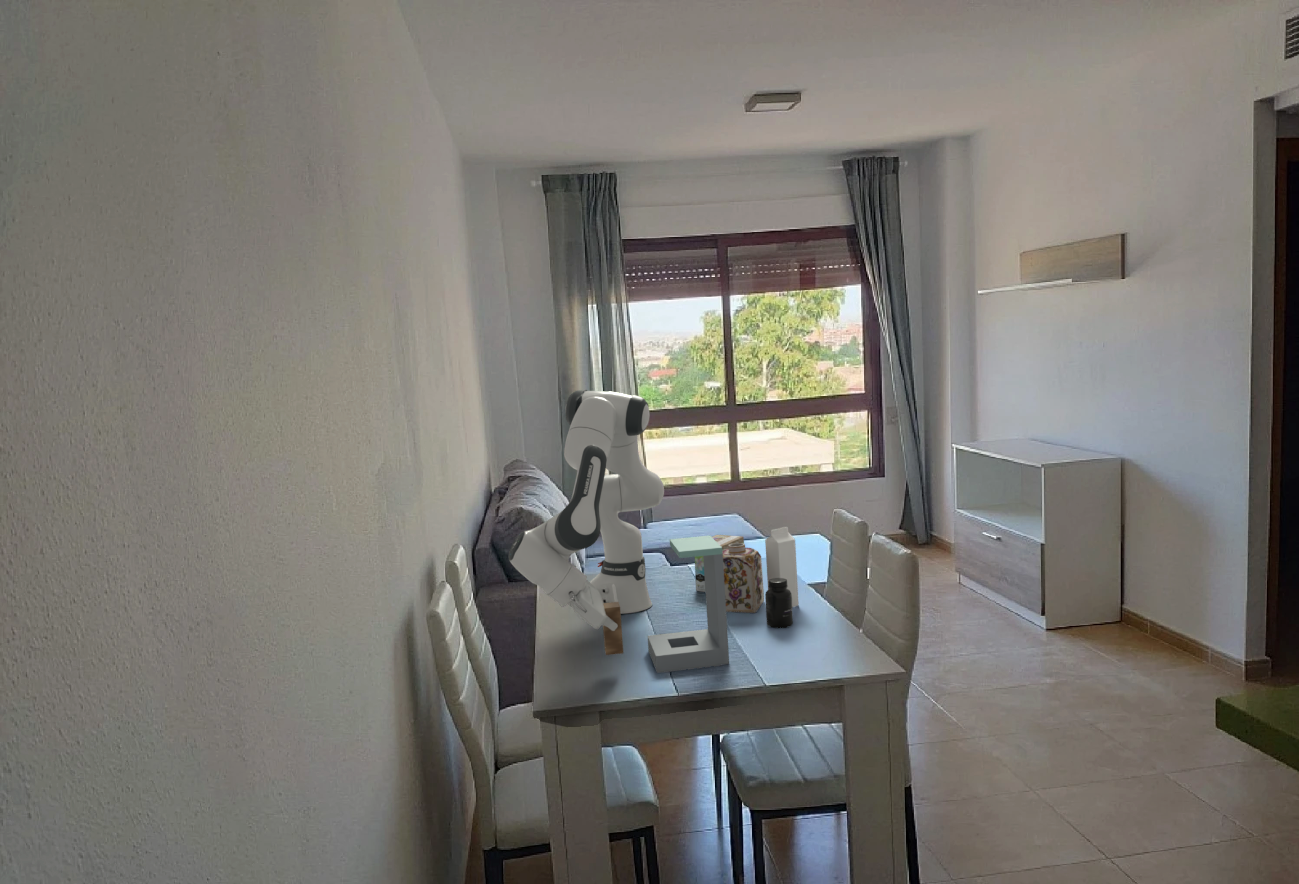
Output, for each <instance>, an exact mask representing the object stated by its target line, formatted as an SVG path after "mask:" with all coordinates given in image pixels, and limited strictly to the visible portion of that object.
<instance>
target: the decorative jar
mask: <svg viewBox="0 0 1299 884" xmlns="http://www.w3.org/2000/svg"><path fill="white" fill-rule="evenodd" d="M722 552H723V569H724V585H725V601H726V613H744V614H745V613H749V614H755V613H757V612H758V610H759V609H760V607H761V606H762V604H763V603H764V601H765V600H764V599H765V594H764V593H765V592H764V579H763V577H764V576H763V563H762V556H761V554H760V553H759V550H757V549H754V548H753V547H746V544H745V542H744V543H733V544H730V545H728V549H724V550H722Z"/></svg>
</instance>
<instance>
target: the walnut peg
mask: <svg viewBox="0 0 1299 884" xmlns="http://www.w3.org/2000/svg"><path fill="white" fill-rule="evenodd" d="M603 605H604V609H605V613H606V615H607V616H608V617H609V618H610V619H613V620H614V621H615V622H616V623H617V625H618V627H617V628H616V629H615V631H612V630H611V629H609V628H608V627H606V626H604V625H602V630H603V645H604V653H605V655H606V656H612V655H620V654H621V655H622V654H624V644H623V629H622V628H623V627H622V615H621V613H620V605H619V602H611V603H603Z"/></svg>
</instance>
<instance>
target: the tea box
mask: <svg viewBox="0 0 1299 884" xmlns="http://www.w3.org/2000/svg"><path fill="white" fill-rule="evenodd" d="M711 537H712V538H713V539H714V540H715V541H716V542H717V543H718V544H719V545H720V546H721V547H722V550H724V549H728V545H730V544H733V543H744V544H745V539H744V536H741V535H740V536H739V535H725V534H716V535H713V536H711ZM694 572H695V574H694V576H695V591H697V592H701V593H706V591H705V576H704V560H703V556H697V557H694Z"/></svg>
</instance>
